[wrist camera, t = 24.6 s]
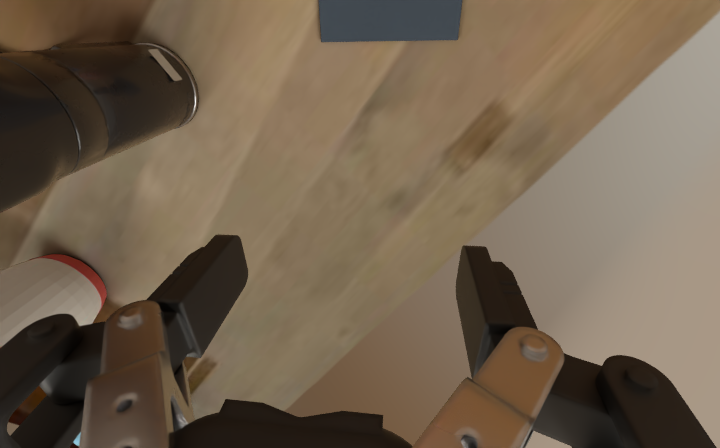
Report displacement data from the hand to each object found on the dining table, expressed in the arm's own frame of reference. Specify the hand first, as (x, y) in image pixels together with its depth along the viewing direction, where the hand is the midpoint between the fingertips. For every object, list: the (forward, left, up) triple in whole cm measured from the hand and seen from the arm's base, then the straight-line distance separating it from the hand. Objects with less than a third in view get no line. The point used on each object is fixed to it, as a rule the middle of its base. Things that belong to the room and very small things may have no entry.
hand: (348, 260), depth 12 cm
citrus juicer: (-32, -53, -30) cm, 69 cm away
